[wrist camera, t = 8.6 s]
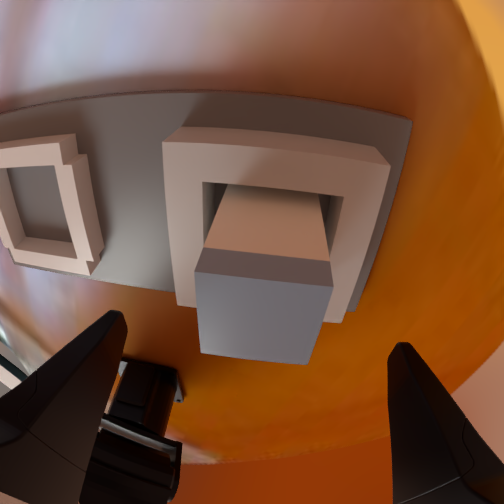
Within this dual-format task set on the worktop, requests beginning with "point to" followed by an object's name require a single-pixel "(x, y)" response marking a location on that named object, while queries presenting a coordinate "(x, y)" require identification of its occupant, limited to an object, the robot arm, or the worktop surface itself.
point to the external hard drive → (10, 373)
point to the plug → (263, 276)
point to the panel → (143, 166)
